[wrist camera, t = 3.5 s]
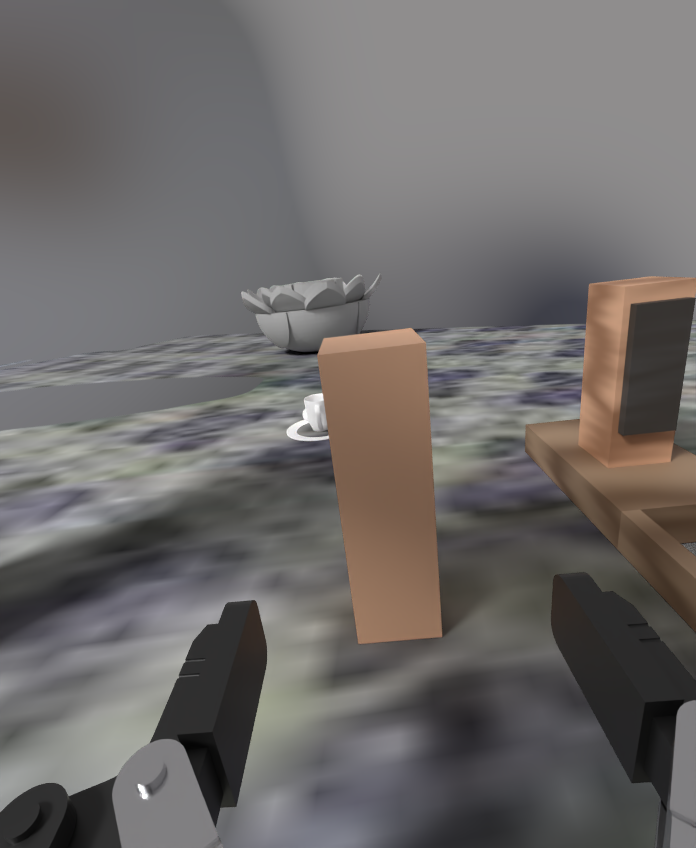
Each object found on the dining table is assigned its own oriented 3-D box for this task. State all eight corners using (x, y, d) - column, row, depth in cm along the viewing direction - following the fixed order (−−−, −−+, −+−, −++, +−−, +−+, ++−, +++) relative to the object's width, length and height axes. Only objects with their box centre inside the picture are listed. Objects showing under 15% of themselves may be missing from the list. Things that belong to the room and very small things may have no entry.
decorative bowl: (311, 336, 121) (302, 280, 116) (403, 336, 103) (398, 269, 98) (223, 361, 99) (208, 293, 94) (321, 366, 81) (310, 283, 76)
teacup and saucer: (307, 416, 56) (302, 386, 54) (366, 417, 53) (363, 384, 52) (275, 444, 48) (268, 409, 47) (342, 446, 45) (337, 408, 44)
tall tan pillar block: (442, 636, 21) (425, 342, 16) (358, 644, 21) (317, 355, 16) (426, 572, 25) (409, 326, 20) (357, 579, 25) (324, 336, 20)
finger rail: (1018, 703, 15) (1256, 283, 10) (779, 721, 15) (903, 322, 11) (618, 441, 38) (635, 271, 33) (525, 451, 38) (528, 284, 33)
